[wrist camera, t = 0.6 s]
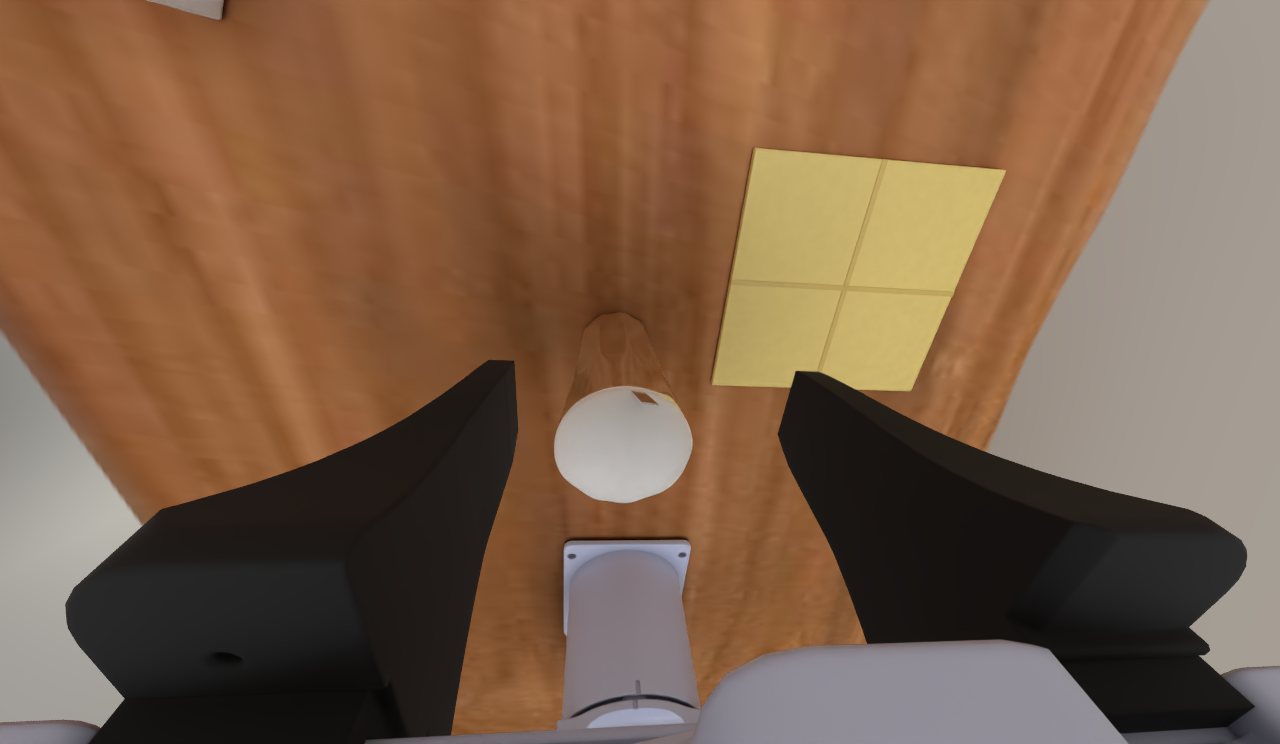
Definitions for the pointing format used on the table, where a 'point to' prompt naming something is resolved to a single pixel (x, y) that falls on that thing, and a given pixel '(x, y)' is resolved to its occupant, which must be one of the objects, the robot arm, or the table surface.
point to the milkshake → (620, 417)
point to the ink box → (196, 6)
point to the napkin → (846, 266)
